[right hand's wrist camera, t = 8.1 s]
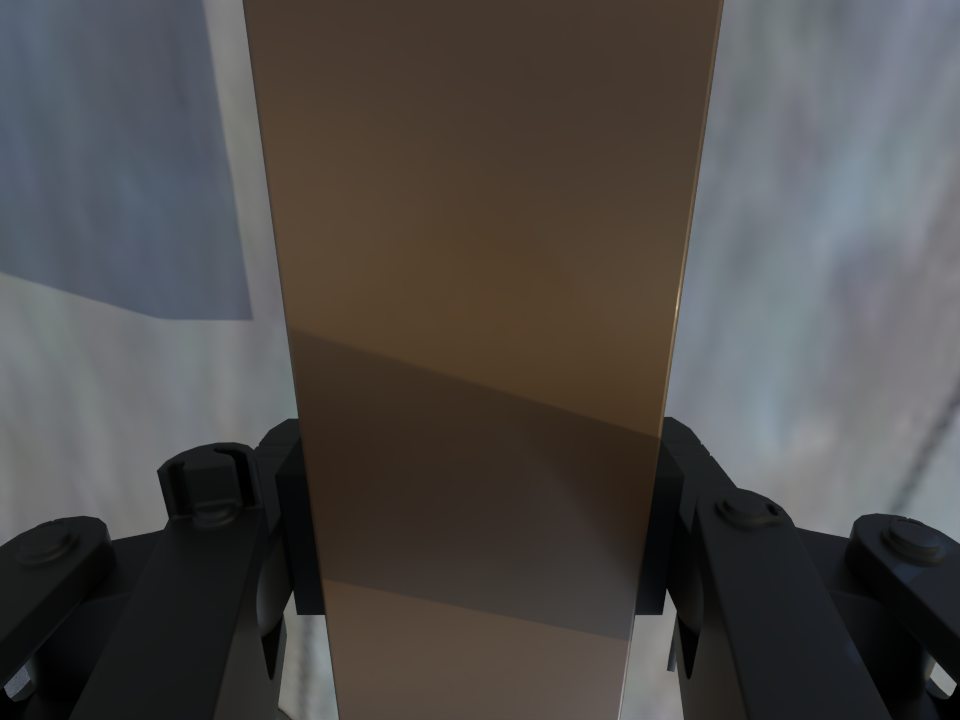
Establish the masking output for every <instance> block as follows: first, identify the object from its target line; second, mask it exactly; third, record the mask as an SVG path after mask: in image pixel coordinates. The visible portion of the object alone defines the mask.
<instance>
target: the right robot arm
mask: <svg viewBox="0 0 960 720" xmlns="http://www.w3.org/2000/svg"><path fill="white" fill-rule="evenodd" d="M157 473H158V477H159V481H160V485H161V489H162V493H163V497H164V501H165V505H166V509H167V513H168V517H169V520H168V522H167V524H166V526H165V528H164V530H160V531H156V532H152V533H147V534H142V535H137V536H132V537H127V538H122V539H117V540H112V541H111V539H110V536H109V532H108V529H107V526H106V524H105V523H104V522H102V521H101V520H100V519H99V518H94V517H88V516H78V517H69V518H61V519H56V520H54V521H49V522H46V523H42V524H40V525H38V526H36V527H35V528H33V529H30V530H28V531H26V532H23V533H21V534H19V535H18V536H16V537H15V538H13V539H12V540H10V541H9V542H7V543H5V544H4V545H2V546H1V547H0V720H290V719H289V718H288V717H287V716H286V715H285V714H283V713H282V712H281V711H279V710H278V701H279V693H280V686H281V678H282V670H283V662H284V655H285V647H286V639H287V633H286V625H285V619H284V613H283V612H284V609H285V607H286V605H287V602H288V600H289V598H290V596H291V593H292V591H293V592H294V598H295V604H296V610H297V615H325V612H324V604H323V597H322V589H321V582H320V574H319V567H318V559H317V552H316V545H315V537H314V530H313V522H312V515H311V507H310V500H309V492H308V485H307V477H306V470H305V463H304V455H303V448H302V440H301V433H300V425H299V419H287V420H285V421H284V422H282V423H281V424H279V425H277V426H276V427H274V428H272V429H271V430H269V432H268V433H267V434H266V435H265V437H264V438H263V439H262V441H261V442H260V443H259V446H257V447H256V448H255V449H254V450H253V449H252V448H251V447H249V446H248V445H244V444H240V443H235V442H229V443H214V444H208V445H203V446H198V447H196V448H193V449H190V450H187V451H184V452H182V453H180V454H178V455H176V456H174V457H173V458H171V459H169V460H167V461H166V462H165V463H164V464H163V465H162V466H161V467H160V468H159V469H158V470H157ZM666 589H668V592H669V594H670V596H671V598H672V601H673V603H674V605H675V608H676V610H677V613H676V619H675V625H674V631H673V636H672V642H671V648H670V654H669V660H668V667H667V671H672V672H674V671H675V665H676V661H677V669H678V677H679V684H680V692H681V700H682V708H683V715H684V720H960V544H959V543H958V542H956V541H954V540H953V539H951V538H950V537H948V536H947V535H945V534H944V533H942V532H940V531H938V530H936V529H934V528H931V527H929V526H927V525H925V524H923V523H922V522H920V521H917V520H914V519H910V518H909V519H907V518H906V517H902V516H898V515H887V514H878V513H876V514H869V515H863V516H861V517H860V518H858V519H857V520H856V521H855V522H854V524H853V527H852V530H851V534H850V537H849V538H845V537H840V536H835V535H830V534H825V533H820V532H814V531H809V530H805V529H801V528H797V527H795V525H794V523H793V521H792V519H791V518H790V517H789V515H788V514H787V513H786V512H785V510H784V509H783V508H782V507H781V506H779V505H778V504H776V503H775V502H773V501H772V500H770V499H769V498H767V497H764V496H762V495H759V494H757V493H755V492H752V491H749V490H744V489H740V488H737V487H736V486H735V484H734V483H733V482H732V481H731V479H730V478H729V477H728V476H727V474H726V473H725V472H724V470H723V469H722V468H721V467H720V465H719V464H718V463H717V462H716V460H715V459H714V458H713V457H712V456H710V453H709V452H708V450H707V449H706V448H705V447H704V445H703V444H701V441H700V440H699V439H698V438H697V436H696V435H695V434H694V433H693V431H692V430H691V429H690V428H689V427H687V426H685V425H684V424H682V423H680V422H679V421H677V420H676V419H674V418H672V417H664V419H663V426H662V433H661V440H660V447H659V454H658V461H657V468H656V475H655V482H654V489H653V496H652V503H651V509H650V516H649V523H648V530H647V537H646V544H645V551H644V558H643V565H642V572H641V579H640V586H639V593H638V599H637V606H636V613H635V615H662V614H663V608H664V602H665V595H666ZM936 662H937V663H938V664H939V665H940V666H941V667H942V668H943V669H944V670H945V672H946V673H947V674H948V675H949V676H950V677H951V678H952V679H953V680H954V681H955V682H956V683H957V685H956V688H955V690H954V692H953V694H952V695H951V696H948V695H947V694H946V693H945V692H943V691H942V690H941V689H940V688H939V687H938V686H937V685H936V684H935V682H934V681H933V680H932V679H931V678H930V675H931V673H932V670H933V668H934V666H935V663H936ZM23 665H25V667H26V669H27V672H28V674H29V677H30V681H29V682H28V683H27V684H26V685H25V686H24V687H23V689H22V690H21V691H19V692H18V693H17V694H16V695H15V696H13V697H12V698H9V697H8V696H7V693H6V691H5V689H4V686H5V685H6V684H7V683H8V682H9V681H10V679H11V678H12V677H13V676H14V675H15V674H16V673H17V672H18V671H19V670H20V669H21V667H22V666H23Z"/></svg>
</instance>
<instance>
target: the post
mask: <svg viewBox="0 0 960 720" xmlns="http://www.w3.org/2000/svg"><path fill="white" fill-rule="evenodd" d="M242 1H243V8H244V15H245V23H246V30H247V38H248V45H249V53H250V60H251V68H252V75H253V83H254V90H255V97H256V105H257V112H258V120H259V127H260V135H261V142H262V150H263V157H264V164H265V172H266V179H267V187H268V194H269V202H270V209H271V217H272V224H273V232H274V239H275V246H276V254H277V261H278V269H279V276H280V284H281V291H282V299H283V306H284V314H285V321H286V328H287V336H288V343H289V351H290V358H291V366H292V373H293V381H294V388H295V395H296V403H297V410H298V418H299V425H300V433H301V440H302V448H303V455H304V463H305V470H306V477H307V485H308V492H309V500H310V507H311V515H312V522H313V530H314V537H315V545H316V552H317V559H318V567H319V574H320V582H321V589H322V597H323V604H324V612H325V619H326V627H327V634H328V641H329V649H330V656H331V664H332V671H333V679H334V686H335V694H336V701H337V708H338V716H339V720H620V717H621V710H622V703H623V696H624V689H625V683H626V676H627V669H628V662H629V655H630V648H631V641H632V634H633V627H634V620H635V613H636V606H637V599H638V593H639V586H640V579H641V572H642V565H643V558H644V551H645V544H646V537H647V530H648V523H649V516H650V509H651V503H652V496H653V489H654V482H655V475H656V468H657V461H658V454H659V447H660V440H661V433H662V426H663V419H664V413H665V406H666V399H667V392H668V385H669V378H670V371H671V364H672V357H673V350H674V343H675V336H676V329H677V323H678V316H679V309H680V302H681V295H682V288H683V281H684V274H685V267H686V260H687V253H688V246H689V239H690V233H691V226H692V219H693V212H694V205H695V198H696V191H697V184H698V177H699V170H700V163H701V156H702V149H703V143H704V136H705V129H706V122H707V115H708V108H709V101H710V94H711V87H712V80H713V73H714V66H715V59H716V53H717V46H718V39H719V32H720V25H721V18H722V11H723V4H724V0H242Z"/></svg>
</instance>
